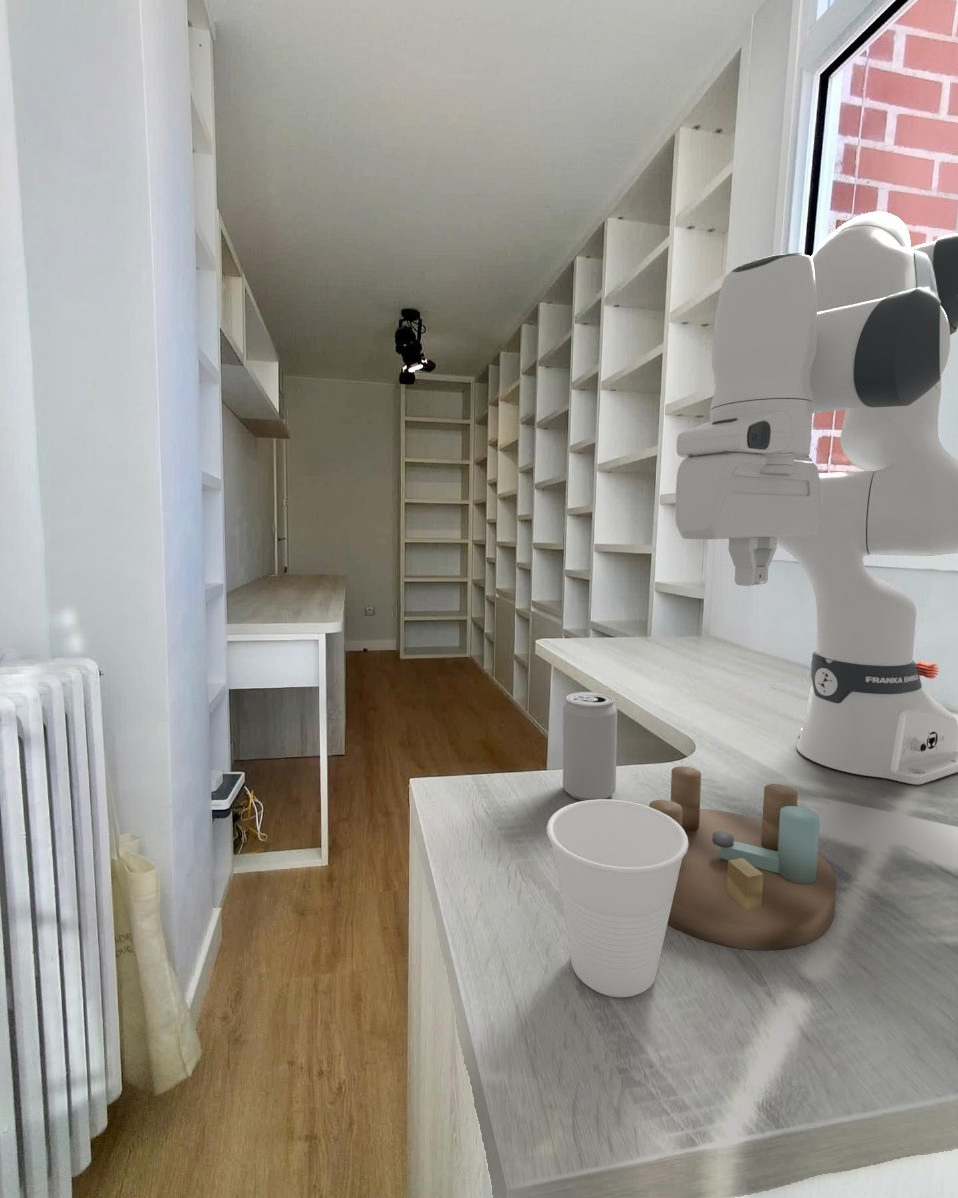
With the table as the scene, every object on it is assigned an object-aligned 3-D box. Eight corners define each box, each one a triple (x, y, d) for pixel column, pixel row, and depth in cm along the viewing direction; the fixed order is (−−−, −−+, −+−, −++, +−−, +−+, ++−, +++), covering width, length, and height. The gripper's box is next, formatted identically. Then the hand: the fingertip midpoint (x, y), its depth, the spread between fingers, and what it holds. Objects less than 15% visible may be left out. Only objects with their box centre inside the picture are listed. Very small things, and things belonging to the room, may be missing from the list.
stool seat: (740, 821, 66) (743, 751, 65) (887, 926, 49) (895, 834, 48) (589, 844, 62) (590, 770, 61) (692, 970, 45) (696, 869, 44)
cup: (657, 922, 50) (661, 796, 48) (706, 1021, 40) (712, 867, 39) (538, 926, 50) (538, 800, 48) (557, 1027, 40) (558, 872, 38)
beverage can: (616, 806, 70) (618, 706, 68) (560, 802, 71) (561, 704, 70) (615, 783, 76) (617, 691, 75) (564, 779, 77) (564, 688, 76)
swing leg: (708, 859, 54) (711, 803, 54) (714, 844, 57) (717, 790, 56) (815, 887, 50) (819, 826, 49) (816, 869, 53) (820, 811, 52)
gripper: (780, 449, 66) (773, 576, 68) (664, 435, 54) (660, 589, 55) (842, 443, 61) (833, 580, 63) (730, 426, 49) (723, 595, 50)
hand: (751, 584), depth 59 cm, fingers closed
